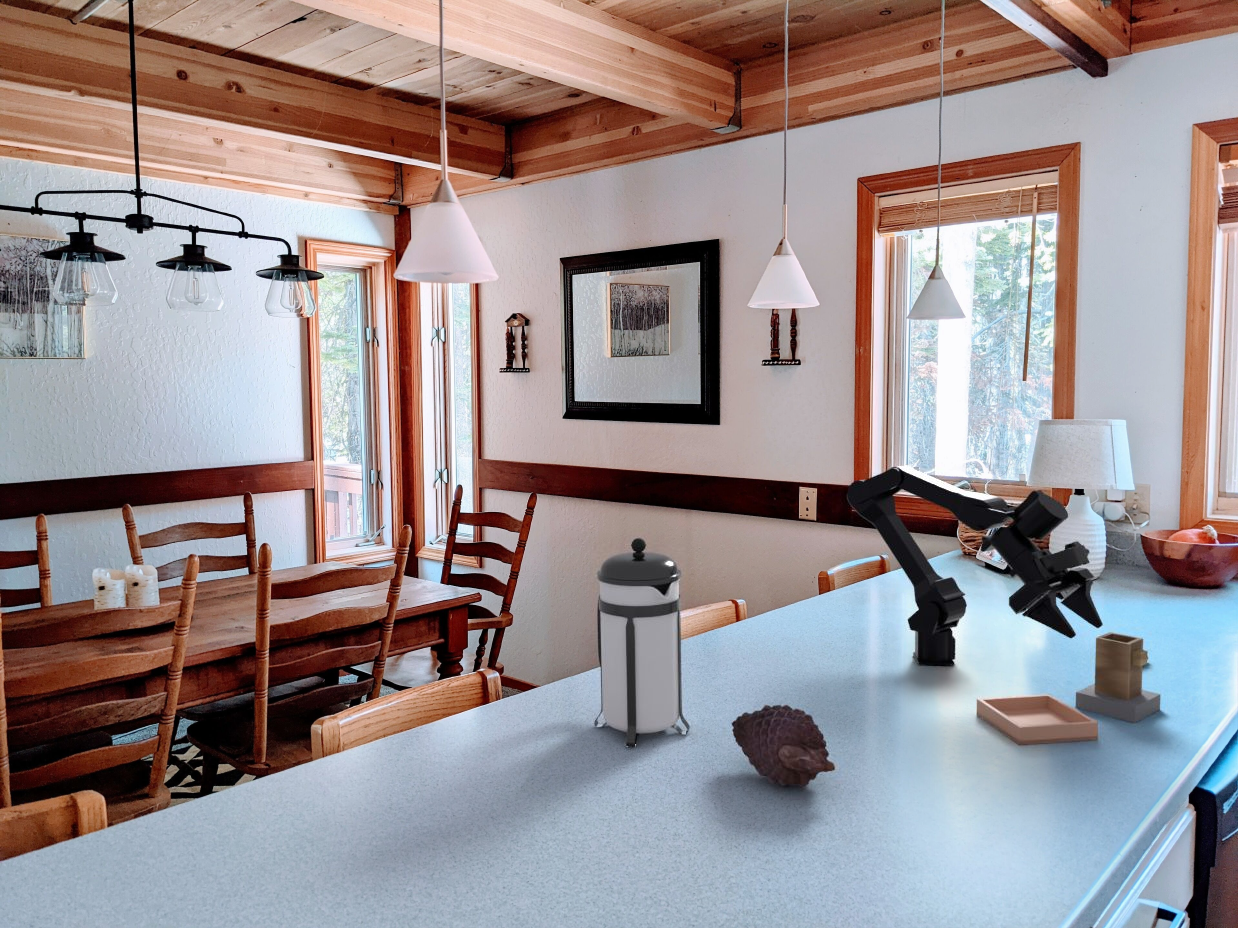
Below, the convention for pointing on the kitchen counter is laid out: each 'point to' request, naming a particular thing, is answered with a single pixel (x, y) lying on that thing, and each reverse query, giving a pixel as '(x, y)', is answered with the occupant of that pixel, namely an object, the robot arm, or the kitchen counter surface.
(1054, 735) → the terracotta tray
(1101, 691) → the walnut sleeve
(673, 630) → the coffee press
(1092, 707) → the block
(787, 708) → the pine cone
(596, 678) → the kitchen counter surface
